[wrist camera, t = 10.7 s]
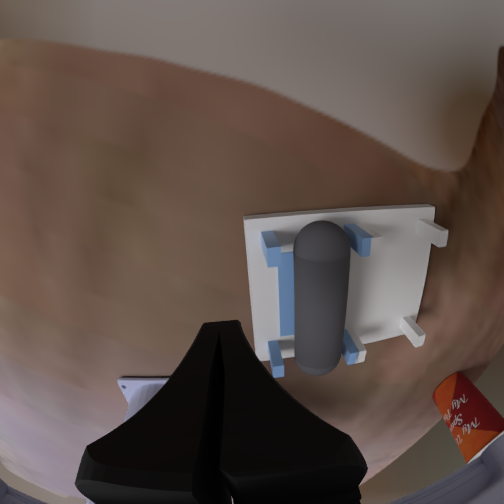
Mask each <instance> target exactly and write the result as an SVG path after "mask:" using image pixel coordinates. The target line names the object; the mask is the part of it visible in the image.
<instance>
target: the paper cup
mask: <svg viewBox="0 0 504 504" xmlns="http://www.w3.org/2000/svg"><path fill="white" fill-rule="evenodd" d="M433 399H434V401H435V403H436V405H437V407H438V409H439V411H440V413H441V415H442V416H443V418H444V420H445V422H446V424H447V426H448V428H449V429H450V431H451V433H452V435H453V437H454V439H455V441H456V443H457V445H458V447H459V449H460V451H461V453H462V455H463V457H464V459H465V461H466V463H467V464H468V463H470V462H471V461H473V460H474V459H476V458H478V457H479V456H481V454H482V452H483V451H484V450H485V449H486V448H487V447H488V446H489V445H490V444H491V443H492V442H493V441H495V440H496V439H497V438H498V437H500V436H501V435H503V434H504V418H503V417H502V416H501V415H500V414H499V412H498V411H497V410H496V409H495V408H494V407H493V406H492V404H491V403H490V402H489V401H488V400H487V399H486V398H485V397H484V396H483V395H482V393H481V392H480V391H479V390H478V389H477V388H476V387H475V386H474V385H473V384H472V382H471V381H470V380H469V379H468V378H467V377H466V376H465V375H464V374H463V373H461V372H456V373H454V374H452V375H450V376H449V377H447V378H446V379H445V380H444V381H443V382H442V383H441V384H440V385H439V386H438V387H437V388H436V390H435V392H434V394H433Z"/></svg>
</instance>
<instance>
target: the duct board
mask: <svg viewBox="0 0 504 504" xmlns="http://www.w3.org/2000/svg"><path fill="white" fill-rule="evenodd" d="M434 215H435V207H434V206H432V205H429V204H414V205H390V206H370V207H353V208H337V209H322V210H308V211H295V212H283V213H271V214H260V215H249V216H243V219H244V231H245V242H246V254H247V265H248V276H249V288H250V299H251V310H252V321H253V332H254V343H255V354H256V356H257V357H258V359H259V360H260V361H266V360H270V364H271V369H272V374H273V378H277V377H284V363H283V359H282V358H288V357H295V355H294V261H293V246H294V241H295V238H296V236H297V234H298V233H299V231H300V230H301V229H302V228H303V227H304V226H306V225H307V224H309V223H311V222H314V221H320V220H324V221H330V222H333V223H335V224H337V225H338V226H339V227H341V228H342V229H343V230H344V231H345V233H346V234H347V236H348V238H349V241H350V247H351V257H350V273H349V287H348V299H347V309H346V319H345V328H344V337H343V345H342V354H343V356H344V358H345V360H346V362H347V364H348V365H351V364H355V363H359V362H364V360H365V355H366V349H365V347H364V345H363V344H366V343H370V342H375V341H379V340H383V339H387V338H391V337H395V336H399V335H403V334H405V335H406V336H407V338H408V339H409V340H410V341H411V343H412V344H413V345H414V346H415V348H416V347H419V346H422V345H423V343H424V340H425V336H426V334H425V333H424V332H423V330H422V329H421V328H420V327H419V326H418V325H417V324H416V319H417V315H418V311H419V307H420V302H421V298H422V293H423V288H424V283H425V278H426V273H427V267H428V261H429V255H430V248H431V243H432V244H434V245H436V246H437V247H445V246H446V244H447V238H448V230H447V229H445V228H443V227H441V226H439V225H437V224H435V223H434Z"/></svg>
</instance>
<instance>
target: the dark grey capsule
mask: <svg viewBox="0 0 504 504" xmlns="http://www.w3.org/2000/svg"><path fill="white" fill-rule="evenodd" d="M350 257H351V247H350V241H349V238H348V236H347V234H346V233H345V231H344V230H343V229H342V228H341V227H339V226H338V225H337V224H335V223H333V222H330V221H324V220H320V221H314V222H311V223H309V224H307V225H306V226H304V227H303V228H302V229H301V230H300V231H299V233H298V234H297V236H296V238H295V241H294V246H293V261H294V355H295V360H296V363H297V365H298V366H299V368H300V369H301V370H302V371H304V372H305V373H307V374H310V375H314V376H320V375H324V374H327V373H329V372H331V371H332V370H333V369H334V368H335V367H336V366H337V364H338V363H339V360H340V357H341V352H342V345H343V337H344V328H345V319H346V309H347V299H348V287H349V273H350Z"/></svg>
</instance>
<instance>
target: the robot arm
mask: <svg viewBox="0 0 504 504" xmlns="http://www.w3.org/2000/svg"><path fill="white" fill-rule="evenodd" d="M117 382H118V385H119V387H120V388H121V390H122V392H123V394H124V396H125V398H126V400H127V402H128V403H129V406H128V409H127V413H126V417H125V420H124V423H123V424H121V425H120V426H119V427H117V428H116V429H114V430H113V431H111V432H110V433H108V434H106V435H105V436H103V437H101V438H100V439H98V440H96V441H95V442H93V443H91V444H89V445H87V447H86V449H85V451H84V454H83V456H82V459H81V463H80V466H79V470H78V473H77V477H76V481H75V485H76V487H77V489H78V490H79V491H80V492H81V493H82V494H83V495H84V496H85V497H87V502H86V504H232V499H231V496H232V498H233V503H234V504H361V503H360V499H361V494H360V490H359V487H358V486H359V484H360V483H361V481H362V479H363V478H364V476H365V475H366V473H367V470H368V467H367V464H366V461H365V459H364V457H363V455H362V454H361V452H360V450H359V449H358V447H357V445H356V444H355V443H354V441H353V440H352V438H351V437H350V436H349V435H348V434H346V433H344V432H342V431H340V430H338V429H337V428H335V427H333V426H331V425H330V424H328V423H327V422H325V421H323V420H322V419H320V418H319V417H318V416H316V415H315V414H313V413H312V412H310V411H309V410H308V409H307V408H305V407H304V406H303V405H302V404H300V403H299V402H298V401H297V400H296V399H294V398H293V397H292V396H291V395H290V394H289V393H288V392H287V391H286V390H285V389H284V388H282V386H281V385H280V384H279V383H278V382H277V381H276V380H275V379H274V378H273V377H272V376H271V374H270V373H269V372H268V371H267V369H266V368H265V367H264V366H263V364H262V363H261V362H260V360H259V359H258V357H257V356H256V354H255V353H254V351H253V349H252V348H251V346H250V344H249V343H248V341H247V339H246V337H245V335H244V332H243V330H242V327H241V322H239V321H238V320H230V321H219V322H208V323H204V324H203V325H202V326H201V328H200V330H199V332H198V334H197V336H196V338H195V340H194V342H193V343H192V345H191V347H190V349H189V350H188V352H187V353H186V355H185V357H184V358H183V360H182V361H181V363H180V364H179V366H178V367H177V368H176V370H175V371H174V373H173V374H172V375H171V377H170V378H119V379H118V381H117ZM0 504H47V503H45V502H42V501H40V500H38V499H35V498H33V497H31V496H28V495H26V494H24V493H22V492H20V491H18V490H16V489H14V488H12V487H10V486H8V485H7V484H6V483H5V482H4V481H3V480H1V479H0ZM387 504H504V434H503V435H501V436H500V437H498V438H497V439H496V440H495V441H493V442H492V443H491V444H490V445H489V446H488V447H487V448H486V449H485V450H484V451H483V452H482V454H481V456H479V457H478V458H476V459H474V460H473V461H471V462H470V463H468V464H467V465H465V466H463V467H462V468H460V469H458V470H456V471H455V472H453V473H451V474H449V475H448V476H446V477H444V478H442V479H440V480H438V481H436V482H434V483H433V484H431V485H429V486H426V487H424V488H422V489H420V490H418V491H416V492H414V493H412V494H409V495H407V496H405V497H402V498H400V499H397V500H395V501H393V502H390V503H387Z"/></svg>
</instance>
